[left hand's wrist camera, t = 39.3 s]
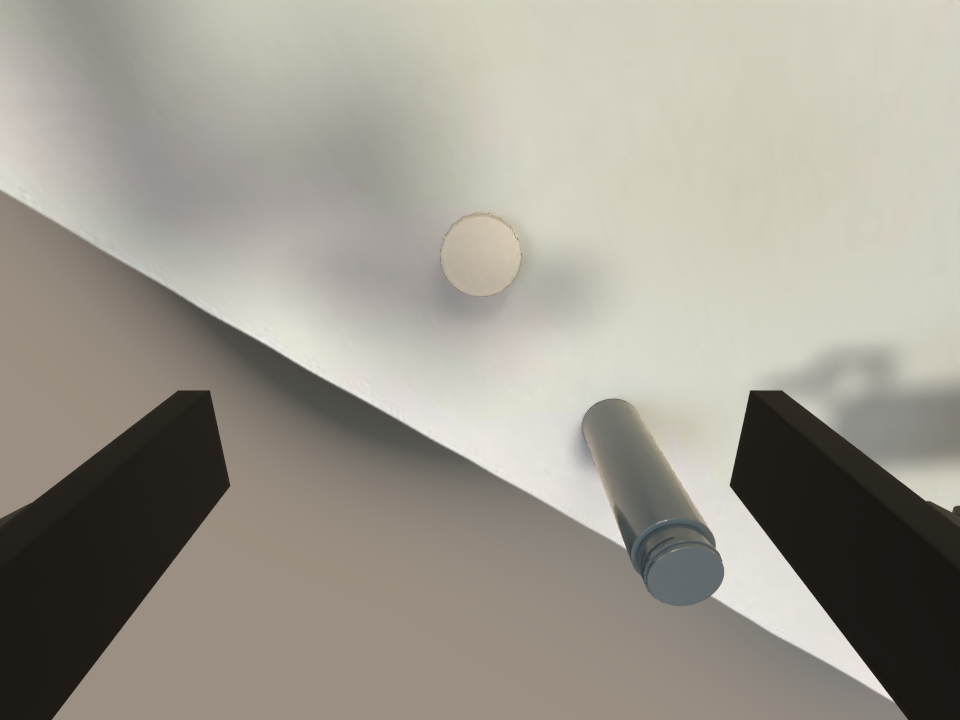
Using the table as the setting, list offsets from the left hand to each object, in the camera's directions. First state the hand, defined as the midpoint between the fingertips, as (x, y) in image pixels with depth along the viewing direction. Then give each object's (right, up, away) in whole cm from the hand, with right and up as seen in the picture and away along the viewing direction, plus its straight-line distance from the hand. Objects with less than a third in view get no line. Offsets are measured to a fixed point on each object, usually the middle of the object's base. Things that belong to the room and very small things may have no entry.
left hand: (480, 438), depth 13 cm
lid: (0, +9, +25) cm, 26 cm away
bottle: (+11, -4, +32) cm, 34 cm away
